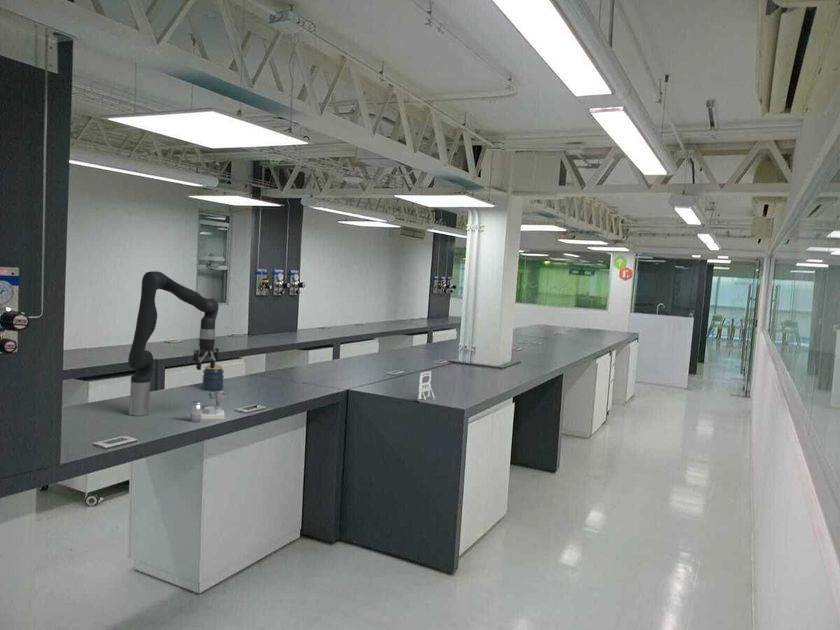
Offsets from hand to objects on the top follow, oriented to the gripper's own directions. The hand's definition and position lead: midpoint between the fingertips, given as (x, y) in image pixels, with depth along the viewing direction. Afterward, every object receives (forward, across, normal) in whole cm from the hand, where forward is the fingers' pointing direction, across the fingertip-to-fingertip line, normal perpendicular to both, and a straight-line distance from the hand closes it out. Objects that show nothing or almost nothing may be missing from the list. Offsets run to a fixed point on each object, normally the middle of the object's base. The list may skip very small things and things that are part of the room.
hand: (205, 369), depth 310 cm
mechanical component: (+27, +22, +14) cm, 38 cm away
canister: (+27, +59, +58) cm, 88 cm away
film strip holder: (+26, +130, -58) cm, 145 cm away
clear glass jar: (+27, -3, +2) cm, 27 cm away
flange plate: (+27, +10, +4) cm, 29 cm away
